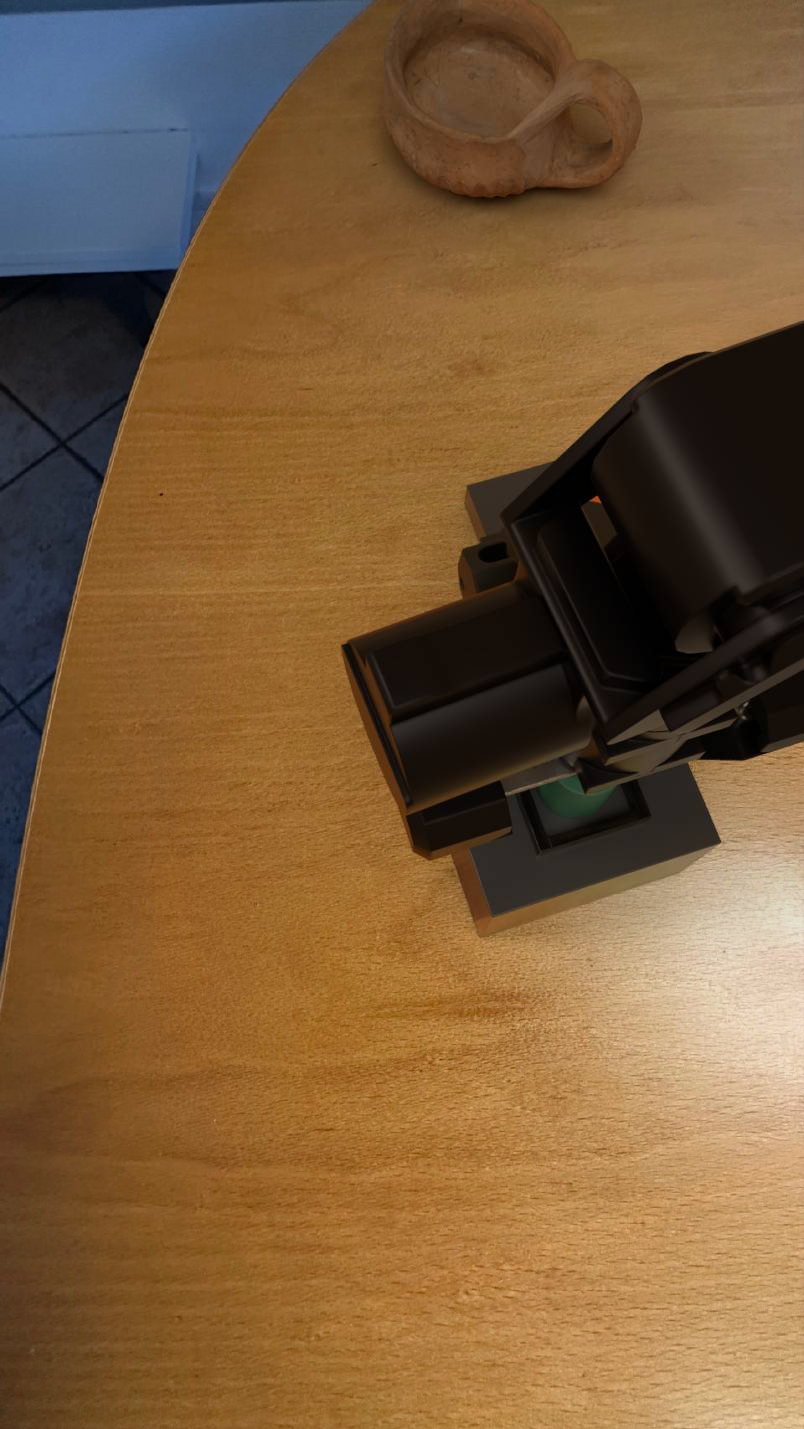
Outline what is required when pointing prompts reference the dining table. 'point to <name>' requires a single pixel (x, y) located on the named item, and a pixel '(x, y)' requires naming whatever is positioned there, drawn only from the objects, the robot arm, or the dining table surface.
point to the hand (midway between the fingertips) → (577, 775)
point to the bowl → (499, 99)
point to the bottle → (572, 797)
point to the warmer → (585, 850)
